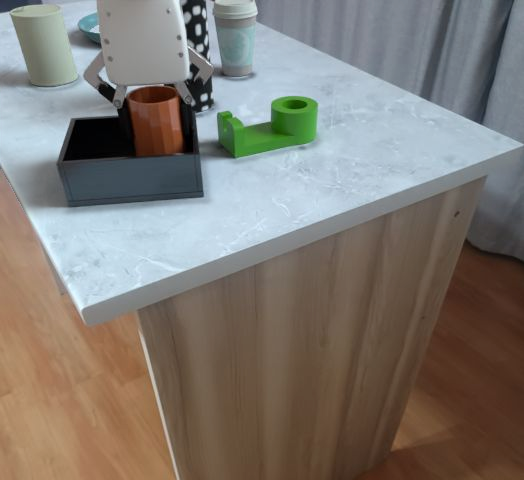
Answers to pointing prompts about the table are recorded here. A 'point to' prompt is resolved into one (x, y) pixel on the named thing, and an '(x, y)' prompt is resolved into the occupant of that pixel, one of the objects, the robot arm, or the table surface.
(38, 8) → the can
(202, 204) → the table surface
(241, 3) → the coffee cup
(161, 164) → the dark grey storage bin
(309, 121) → the tape dispenser
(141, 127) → the cup
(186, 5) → the white-spotted black cylinder
